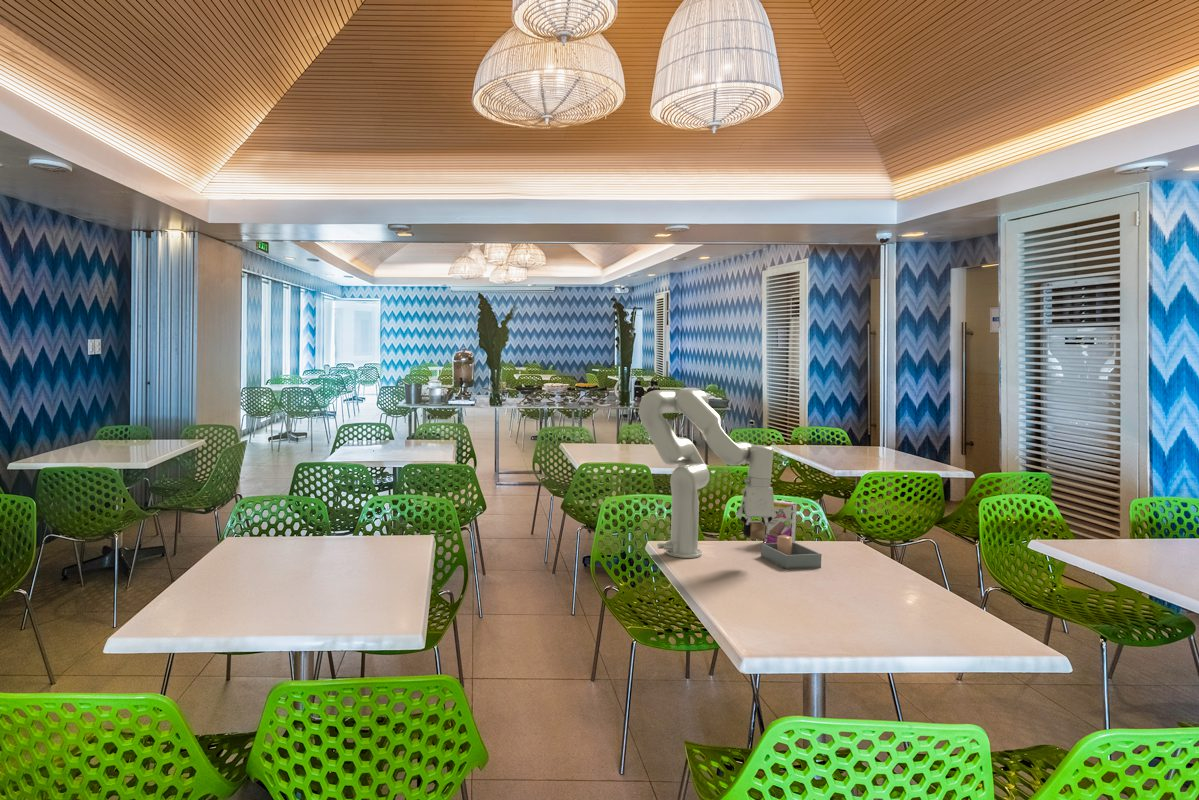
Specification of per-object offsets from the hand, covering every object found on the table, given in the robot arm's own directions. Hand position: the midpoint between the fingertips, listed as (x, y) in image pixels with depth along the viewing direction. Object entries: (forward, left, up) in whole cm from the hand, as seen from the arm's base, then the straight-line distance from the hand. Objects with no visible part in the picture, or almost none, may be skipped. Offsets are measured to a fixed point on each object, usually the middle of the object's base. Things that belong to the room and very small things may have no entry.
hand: (754, 535), depth 253 cm
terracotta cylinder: (+16, +8, -10) cm, 20 cm away
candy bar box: (+25, +27, -11) cm, 38 cm away
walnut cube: (0, 0, -1) cm, 1 cm away
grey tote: (+16, +3, -10) cm, 19 cm away
